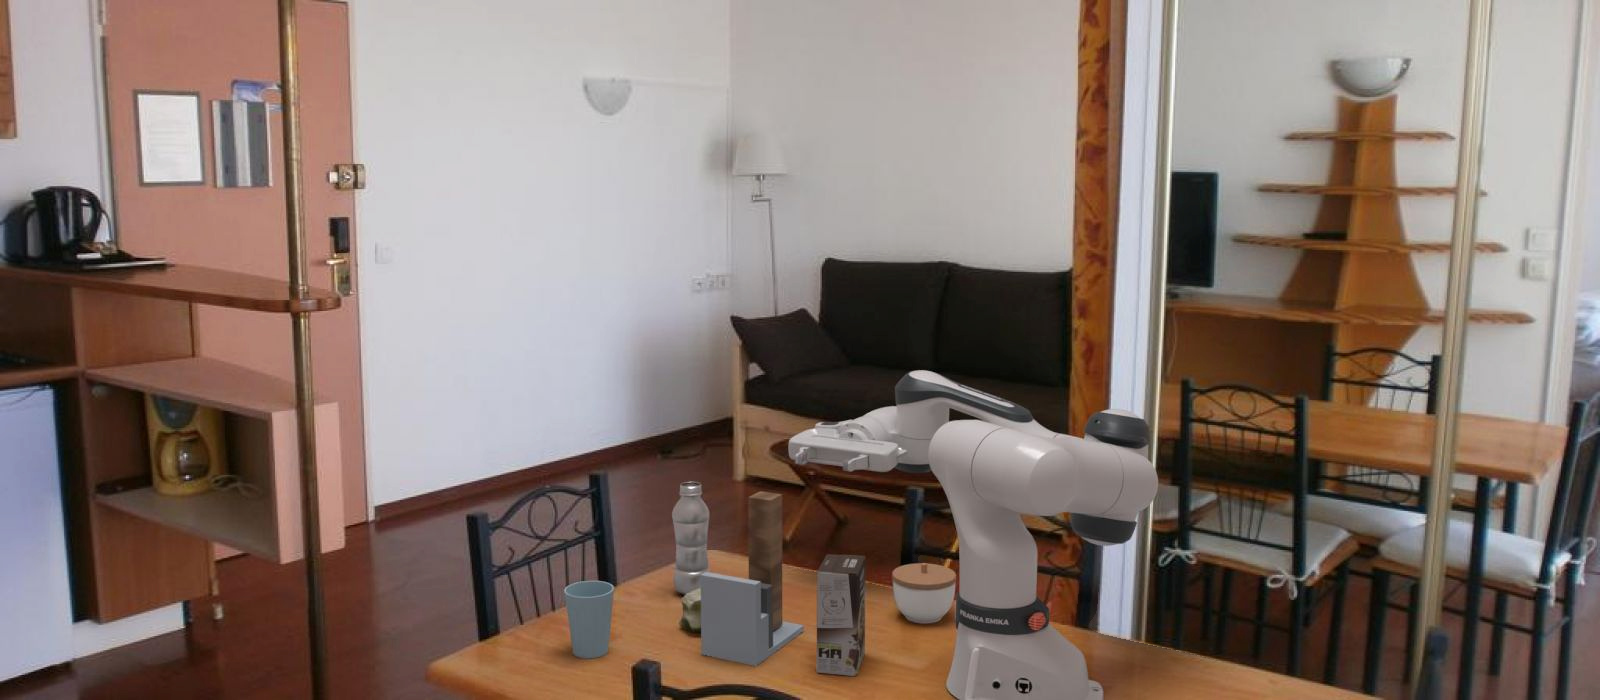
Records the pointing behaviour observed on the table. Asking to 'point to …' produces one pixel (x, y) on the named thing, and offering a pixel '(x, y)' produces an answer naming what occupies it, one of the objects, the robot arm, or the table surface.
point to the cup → (589, 617)
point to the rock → (691, 612)
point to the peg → (766, 545)
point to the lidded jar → (923, 591)
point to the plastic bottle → (690, 538)
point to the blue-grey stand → (740, 620)
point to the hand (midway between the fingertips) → (822, 463)
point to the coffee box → (841, 614)
